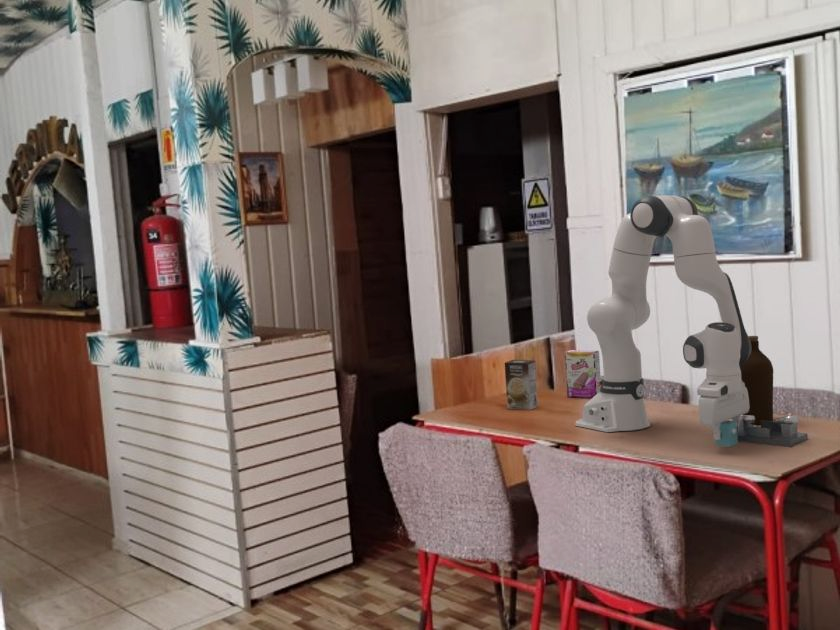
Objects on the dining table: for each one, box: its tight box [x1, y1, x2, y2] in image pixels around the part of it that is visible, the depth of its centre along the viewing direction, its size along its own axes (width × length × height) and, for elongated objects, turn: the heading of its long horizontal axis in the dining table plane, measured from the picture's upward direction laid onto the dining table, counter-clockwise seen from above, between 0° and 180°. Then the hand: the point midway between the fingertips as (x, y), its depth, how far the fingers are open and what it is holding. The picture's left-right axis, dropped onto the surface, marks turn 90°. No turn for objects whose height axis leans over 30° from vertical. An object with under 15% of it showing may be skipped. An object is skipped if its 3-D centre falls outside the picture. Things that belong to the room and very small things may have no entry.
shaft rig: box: [737, 414, 808, 448], centre depth 252 cm, size 18×10×7 cm, turn 43°
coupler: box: [715, 420, 739, 448], centre depth 250 cm, size 5×4×6 cm
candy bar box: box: [564, 349, 602, 399], centre depth 330 cm, size 11×5×16 cm, turn 59°
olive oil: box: [739, 335, 774, 426], centre depth 272 cm, size 11×11×25 cm
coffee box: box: [504, 359, 539, 411], centre depth 319 cm, size 9×6×16 cm
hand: (726, 435), depth 250 cm, fingers open, 7 cm apart
